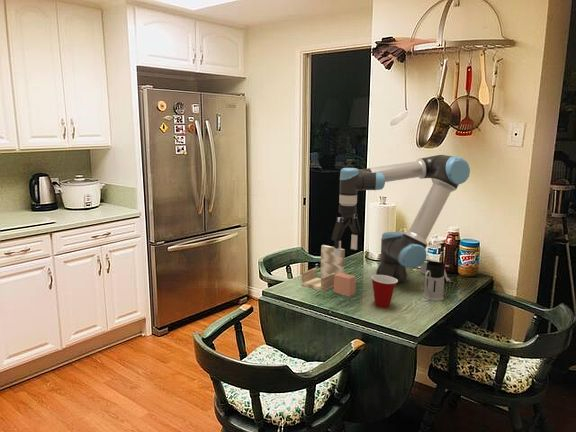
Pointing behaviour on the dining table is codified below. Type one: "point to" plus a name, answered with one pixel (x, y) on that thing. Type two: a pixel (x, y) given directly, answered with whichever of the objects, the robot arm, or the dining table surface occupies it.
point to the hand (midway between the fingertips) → (345, 252)
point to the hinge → (424, 266)
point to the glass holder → (434, 281)
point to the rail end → (344, 284)
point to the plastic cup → (383, 289)
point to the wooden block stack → (325, 270)
